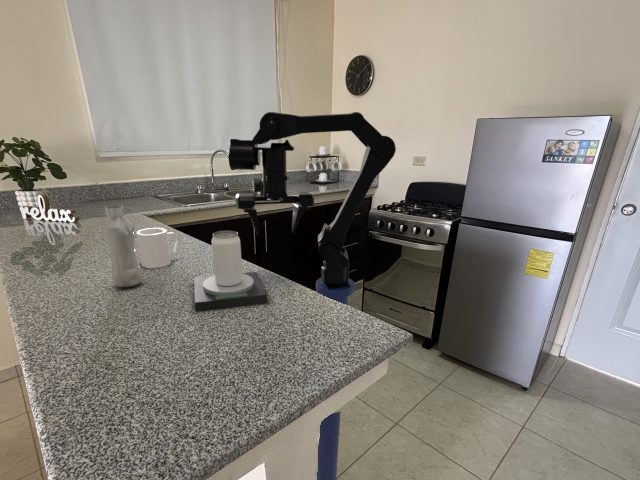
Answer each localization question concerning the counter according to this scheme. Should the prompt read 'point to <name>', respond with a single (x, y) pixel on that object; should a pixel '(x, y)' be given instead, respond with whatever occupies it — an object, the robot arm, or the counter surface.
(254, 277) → the scale
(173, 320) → the counter surface
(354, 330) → the counter surface
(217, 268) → the can
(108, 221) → the plastic bottle
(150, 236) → the mug
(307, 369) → the counter surface
